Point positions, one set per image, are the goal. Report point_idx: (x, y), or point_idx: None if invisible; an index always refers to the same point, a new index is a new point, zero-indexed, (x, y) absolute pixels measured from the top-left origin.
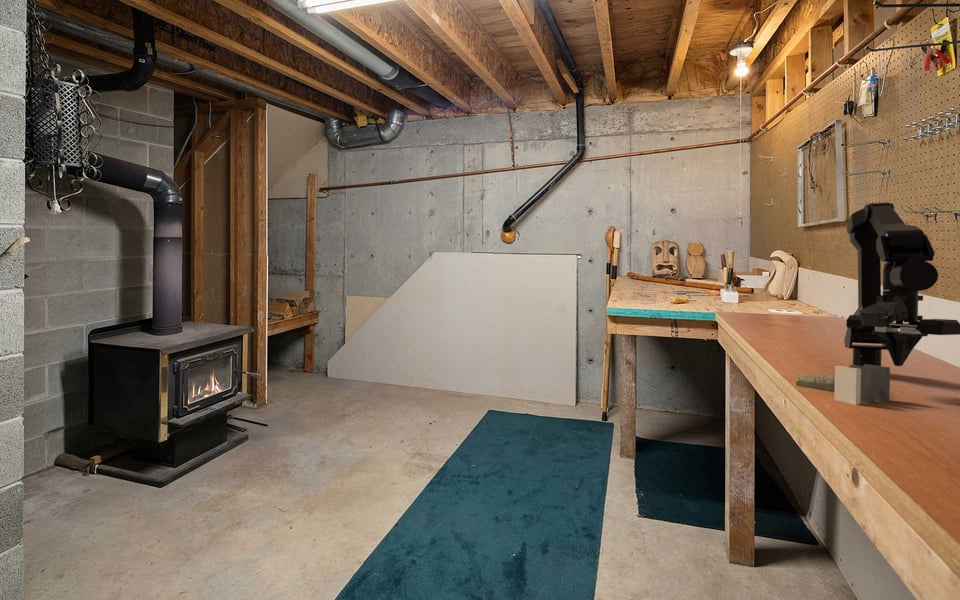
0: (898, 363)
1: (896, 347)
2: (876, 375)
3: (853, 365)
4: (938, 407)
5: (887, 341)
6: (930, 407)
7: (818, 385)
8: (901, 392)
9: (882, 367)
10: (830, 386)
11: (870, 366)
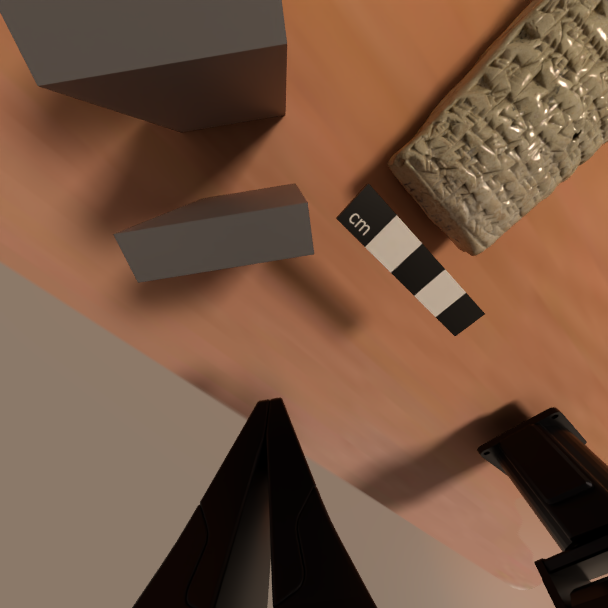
0: (253, 410)
1: (230, 532)
2: (211, 210)
3: None
4: (139, 322)
5: (317, 597)
6: (134, 298)
7: (488, 51)
8: (351, 384)
9: (139, 229)
10: (438, 108)
11: (244, 210)
